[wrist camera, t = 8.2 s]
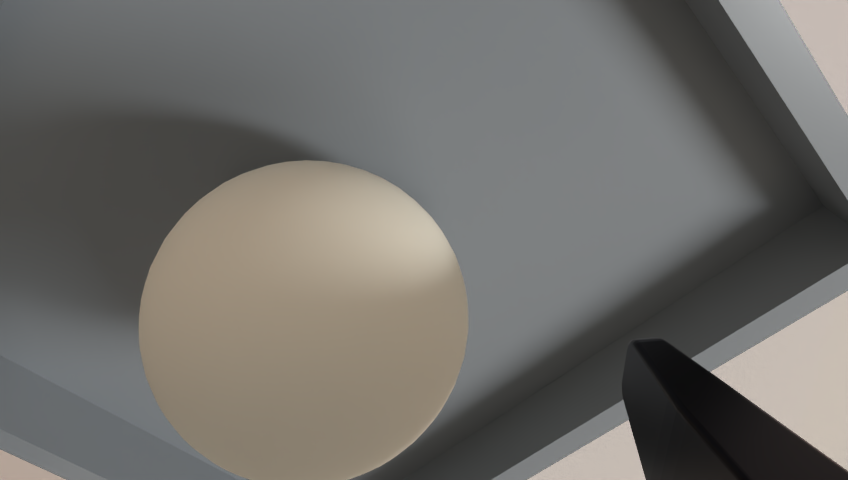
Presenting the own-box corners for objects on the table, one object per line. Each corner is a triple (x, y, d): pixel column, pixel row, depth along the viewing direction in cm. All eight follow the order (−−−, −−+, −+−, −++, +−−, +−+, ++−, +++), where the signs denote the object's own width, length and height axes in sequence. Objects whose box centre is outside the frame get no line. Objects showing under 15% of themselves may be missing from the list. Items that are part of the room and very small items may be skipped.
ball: (339, 368, 13) (314, 597, 9) (144, 238, 11) (-9, 455, 7) (504, 234, 11) (571, 438, 7) (311, 53, 9) (244, 189, 5)
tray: (335, 512, 18) (325, 598, 16) (-163, 244, 12) (-283, 320, 10) (832, 182, 12) (924, 245, 10) (332, -590, 7) (297, -816, 4)
